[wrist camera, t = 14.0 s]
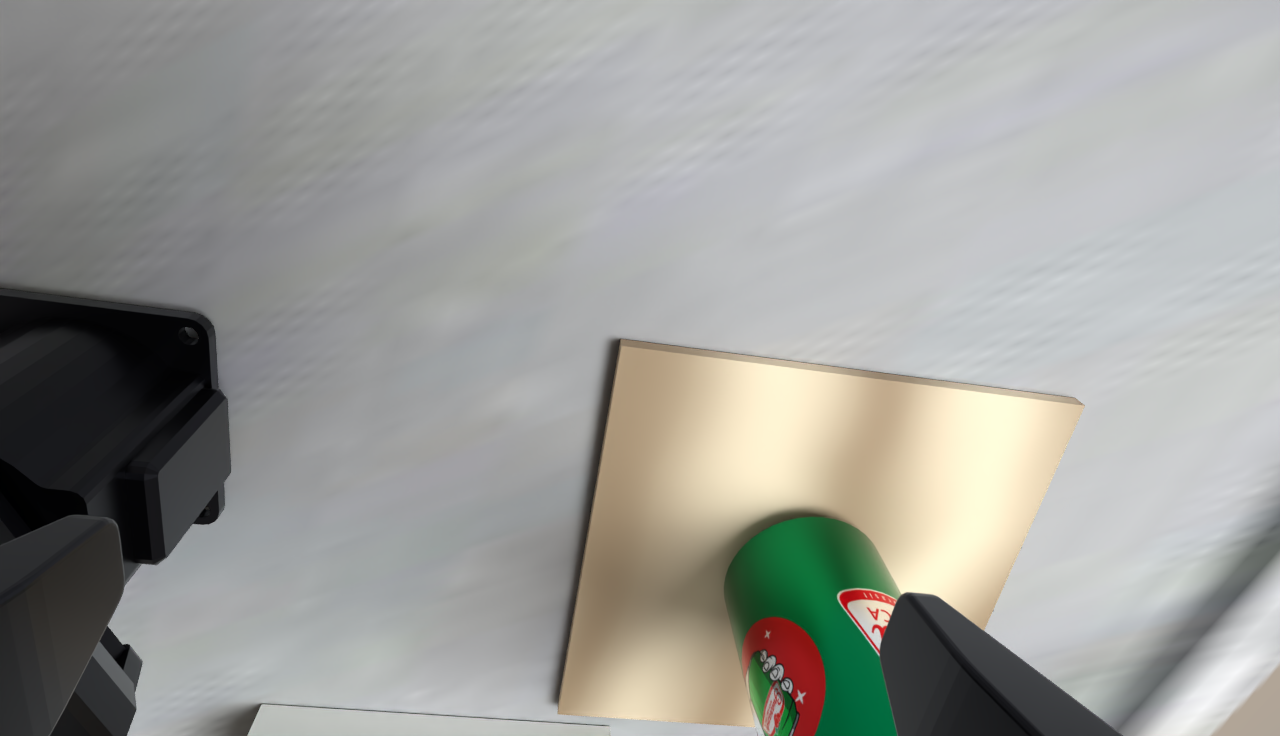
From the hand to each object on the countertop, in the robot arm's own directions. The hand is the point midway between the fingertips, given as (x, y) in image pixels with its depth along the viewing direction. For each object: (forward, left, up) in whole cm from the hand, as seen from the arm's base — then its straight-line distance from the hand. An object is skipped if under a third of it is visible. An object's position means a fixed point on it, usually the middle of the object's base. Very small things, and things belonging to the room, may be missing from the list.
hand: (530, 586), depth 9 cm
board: (+9, -9, -13) cm, 18 cm away
